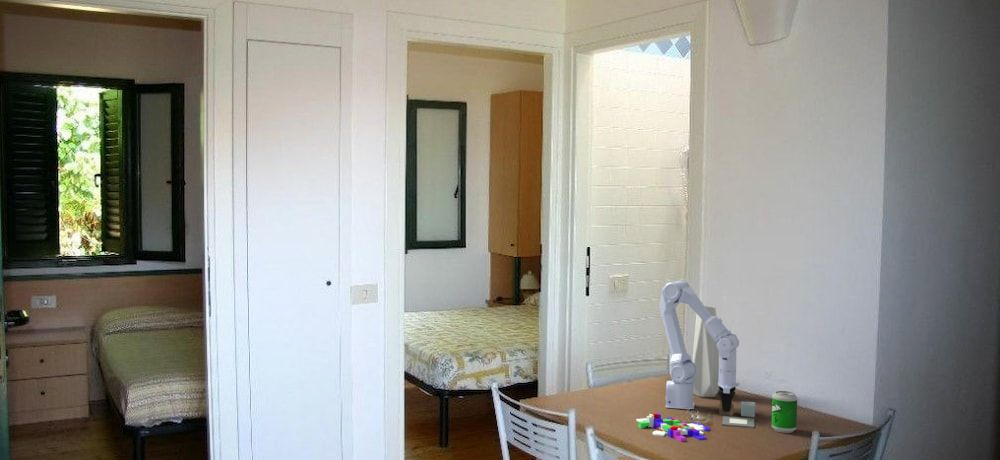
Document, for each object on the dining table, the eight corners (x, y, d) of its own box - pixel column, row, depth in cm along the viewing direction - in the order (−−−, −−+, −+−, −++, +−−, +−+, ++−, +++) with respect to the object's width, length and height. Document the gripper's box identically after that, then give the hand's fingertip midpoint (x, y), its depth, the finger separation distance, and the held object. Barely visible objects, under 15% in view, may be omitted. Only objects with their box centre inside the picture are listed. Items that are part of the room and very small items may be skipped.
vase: (726, 394, 317) (728, 306, 316) (716, 400, 308) (718, 309, 306) (695, 389, 324) (697, 303, 322) (684, 395, 314) (686, 307, 313)
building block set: (726, 439, 262) (726, 424, 262) (667, 445, 256) (667, 430, 255) (682, 418, 286) (683, 404, 286) (628, 423, 279) (628, 409, 279)
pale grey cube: (740, 416, 287) (741, 404, 287) (741, 412, 291) (741, 401, 291) (754, 417, 286) (755, 405, 286) (754, 414, 290) (754, 402, 290)
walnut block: (719, 414, 288) (719, 403, 288) (719, 411, 292) (720, 400, 292) (733, 416, 287) (733, 404, 287) (733, 412, 291) (733, 401, 291)
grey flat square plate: (722, 425, 276) (722, 423, 276) (722, 417, 285) (722, 416, 285) (754, 427, 273) (754, 426, 273) (754, 419, 282) (754, 418, 282)
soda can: (796, 428, 273) (797, 391, 272) (796, 434, 265) (797, 396, 265) (771, 426, 275) (772, 389, 274) (771, 432, 268) (772, 394, 267)
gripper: (739, 375, 281) (738, 416, 281) (739, 366, 295) (738, 405, 295) (717, 373, 283) (716, 414, 283) (718, 365, 297) (717, 403, 297)
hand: (726, 409), depth 290 cm, fingers closed on walnut block, 4 cm apart
